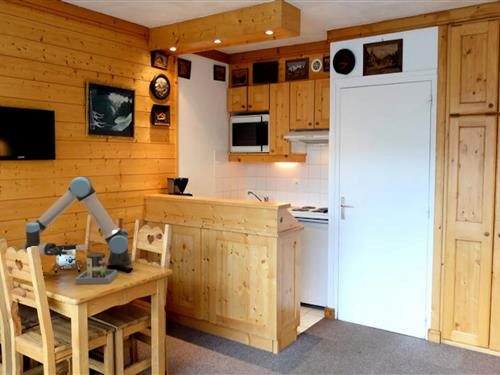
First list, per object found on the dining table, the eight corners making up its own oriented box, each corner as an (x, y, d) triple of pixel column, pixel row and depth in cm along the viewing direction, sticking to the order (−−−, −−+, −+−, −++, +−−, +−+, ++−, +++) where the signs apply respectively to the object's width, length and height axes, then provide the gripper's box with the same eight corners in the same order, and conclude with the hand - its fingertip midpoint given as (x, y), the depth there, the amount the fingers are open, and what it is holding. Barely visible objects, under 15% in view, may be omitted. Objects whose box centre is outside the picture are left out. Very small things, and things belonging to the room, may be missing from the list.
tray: (86, 275, 274) (86, 270, 274) (117, 275, 274) (117, 269, 274) (75, 284, 256) (75, 278, 255) (108, 284, 256) (108, 278, 256)
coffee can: (109, 276, 268) (108, 253, 267) (99, 281, 258) (99, 256, 257) (93, 275, 271) (92, 252, 270) (83, 280, 261) (82, 256, 259)
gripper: (61, 250, 286) (91, 251, 281) (33, 260, 262) (66, 261, 257) (60, 239, 285) (90, 239, 280) (33, 247, 261) (65, 248, 256)
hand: (79, 250), depth 269 cm, fingers open, 13 cm apart
